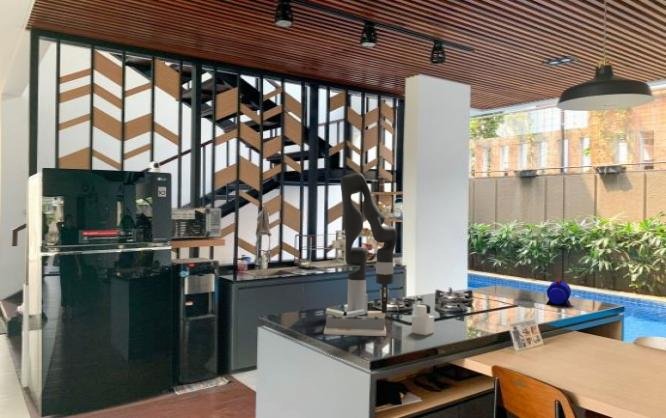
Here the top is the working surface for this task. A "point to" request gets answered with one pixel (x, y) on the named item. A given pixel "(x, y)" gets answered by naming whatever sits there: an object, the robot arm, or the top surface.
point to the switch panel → (354, 332)
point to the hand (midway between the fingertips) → (384, 312)
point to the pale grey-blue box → (355, 313)
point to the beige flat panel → (376, 314)
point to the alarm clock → (559, 293)
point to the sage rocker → (334, 312)
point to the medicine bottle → (423, 320)
